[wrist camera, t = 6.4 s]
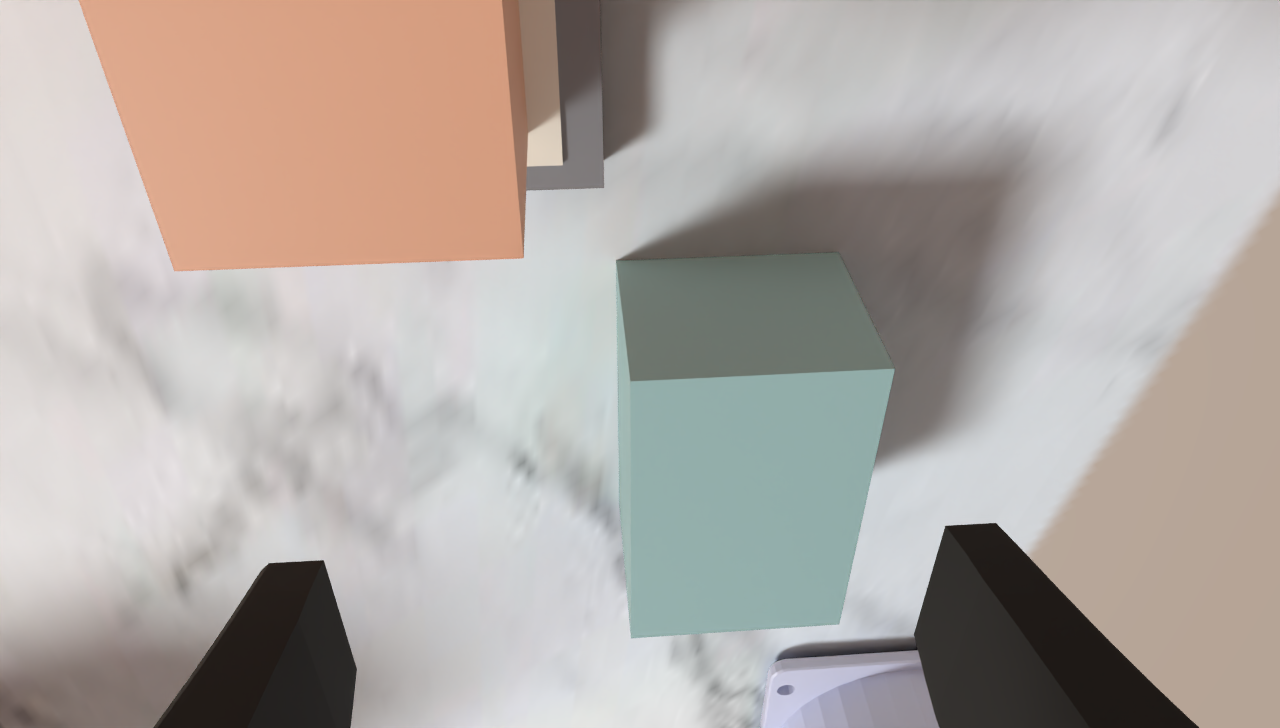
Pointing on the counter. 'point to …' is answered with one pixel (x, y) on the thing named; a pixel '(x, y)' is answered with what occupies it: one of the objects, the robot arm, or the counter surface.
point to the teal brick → (743, 439)
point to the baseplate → (563, 93)
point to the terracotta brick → (322, 127)
